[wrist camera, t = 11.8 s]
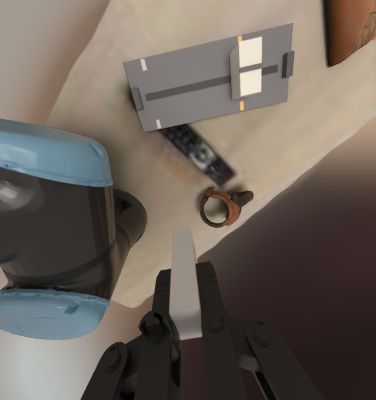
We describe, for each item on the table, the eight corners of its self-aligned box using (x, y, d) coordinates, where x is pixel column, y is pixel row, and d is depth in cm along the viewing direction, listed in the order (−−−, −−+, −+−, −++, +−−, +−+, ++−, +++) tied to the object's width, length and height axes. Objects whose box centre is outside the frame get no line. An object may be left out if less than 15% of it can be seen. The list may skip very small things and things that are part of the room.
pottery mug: (220, 224, 42) (211, 238, 34) (200, 195, 42) (187, 203, 35) (263, 202, 36) (262, 214, 28) (239, 168, 36) (233, 171, 29)
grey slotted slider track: (145, 131, 30) (142, 132, 27) (127, 67, 26) (120, 60, 23) (280, 102, 29) (291, 100, 26) (284, 30, 25) (298, 18, 22)
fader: (231, 99, 26) (240, 96, 23) (229, 54, 24) (238, 41, 20) (250, 95, 26) (261, 91, 23) (249, 49, 24) (262, 35, 20)
